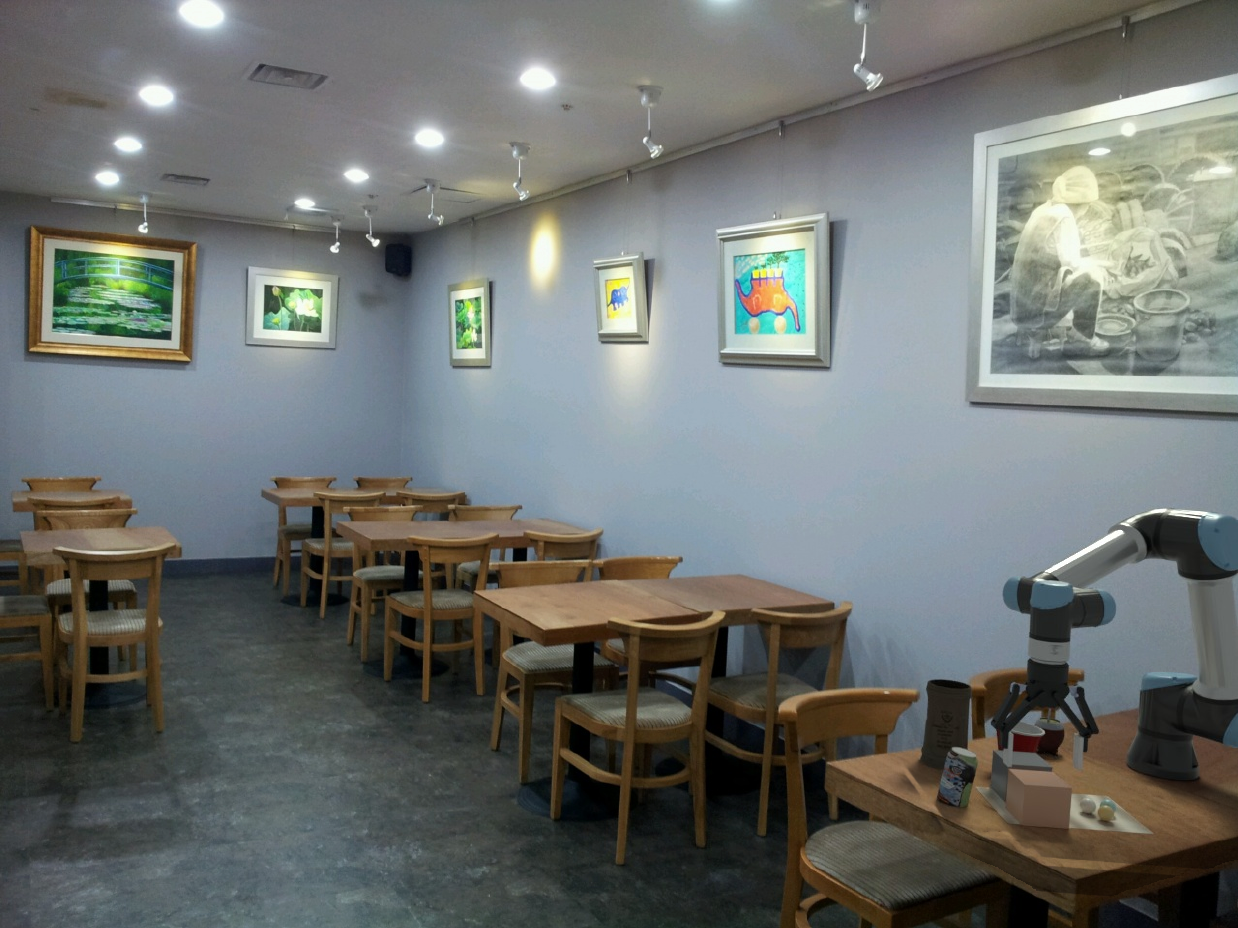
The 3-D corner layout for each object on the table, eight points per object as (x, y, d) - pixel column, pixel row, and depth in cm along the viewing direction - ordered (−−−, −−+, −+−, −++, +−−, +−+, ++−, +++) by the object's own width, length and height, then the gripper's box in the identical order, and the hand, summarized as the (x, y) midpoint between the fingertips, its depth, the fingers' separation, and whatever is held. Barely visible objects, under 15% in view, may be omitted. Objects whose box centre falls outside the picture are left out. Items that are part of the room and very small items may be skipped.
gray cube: (1032, 789, 213) (1035, 752, 213) (1049, 805, 204) (1052, 767, 204) (990, 786, 214) (993, 749, 213) (1005, 802, 205) (1008, 763, 204)
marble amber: (1109, 818, 199) (1110, 803, 199) (1116, 824, 196) (1117, 809, 196) (1094, 817, 199) (1095, 802, 199) (1101, 823, 196) (1102, 808, 196)
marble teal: (1111, 812, 203) (1112, 797, 203) (1118, 817, 200) (1119, 803, 200) (1096, 810, 203) (1097, 796, 203) (1103, 816, 200) (1104, 801, 200)
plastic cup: (1046, 788, 219) (1050, 734, 218) (994, 781, 221) (998, 728, 220) (1035, 772, 229) (1039, 720, 229) (986, 766, 231) (990, 715, 231)
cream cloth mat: (1106, 801, 212) (1107, 795, 212) (1153, 839, 192) (1154, 833, 192) (974, 791, 213) (974, 786, 213) (1007, 829, 193) (1007, 823, 193)
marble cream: (1091, 810, 203) (1092, 796, 203) (1098, 816, 200) (1099, 801, 200) (1076, 809, 203) (1077, 795, 203) (1082, 815, 200) (1084, 800, 200)
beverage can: (932, 800, 207) (937, 743, 207) (968, 802, 207) (972, 745, 206) (941, 811, 201) (945, 753, 200) (978, 814, 200) (982, 755, 200)
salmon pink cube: (1050, 810, 201) (1053, 771, 201) (1068, 828, 192) (1072, 787, 192) (1005, 807, 202) (1008, 768, 202) (1021, 825, 193) (1024, 784, 193)
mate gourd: (1047, 746, 249) (1052, 687, 249) (1072, 757, 242) (1076, 696, 242) (1024, 748, 247) (1028, 688, 246) (1048, 759, 239) (1052, 697, 239)
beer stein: (972, 779, 221) (978, 689, 222) (922, 773, 223) (928, 684, 224) (961, 762, 236) (966, 677, 237) (914, 756, 238) (919, 672, 239)
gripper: (990, 661, 193) (984, 769, 194) (1121, 667, 192) (1114, 775, 193) (977, 652, 200) (972, 756, 201) (1104, 658, 199) (1097, 762, 200)
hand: (1042, 766), depth 197 cm, fingers open, 13 cm apart
